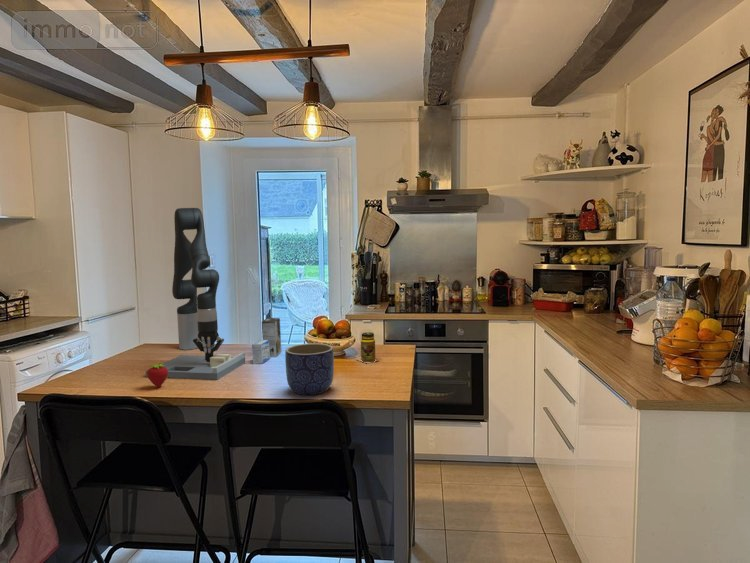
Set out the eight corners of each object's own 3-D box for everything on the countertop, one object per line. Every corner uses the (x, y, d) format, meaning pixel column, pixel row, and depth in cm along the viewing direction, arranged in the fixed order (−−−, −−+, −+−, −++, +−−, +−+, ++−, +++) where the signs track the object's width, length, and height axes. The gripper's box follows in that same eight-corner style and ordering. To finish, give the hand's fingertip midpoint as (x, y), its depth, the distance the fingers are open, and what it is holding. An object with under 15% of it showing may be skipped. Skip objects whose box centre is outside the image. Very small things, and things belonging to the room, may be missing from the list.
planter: (344, 389, 170) (343, 347, 168) (308, 401, 157) (306, 357, 156) (313, 380, 181) (311, 340, 179) (276, 391, 168) (275, 349, 167)
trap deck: (181, 360, 212) (180, 350, 211) (245, 362, 206) (244, 352, 206) (145, 377, 188) (145, 365, 188) (217, 379, 183) (216, 368, 182)
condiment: (365, 364, 201) (365, 335, 200) (354, 360, 208) (354, 332, 207) (380, 361, 205) (379, 333, 204) (369, 357, 212) (368, 330, 211)
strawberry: (153, 384, 179) (152, 357, 178) (172, 385, 177) (171, 358, 176) (143, 389, 173) (142, 362, 172) (163, 390, 172) (161, 362, 171)
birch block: (217, 362, 198) (217, 354, 198) (231, 362, 197) (231, 354, 197) (210, 366, 192) (209, 357, 192) (224, 367, 191) (223, 358, 191)
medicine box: (262, 364, 204) (261, 344, 203) (252, 364, 205) (251, 343, 204) (270, 359, 212) (269, 340, 211) (260, 359, 212) (259, 339, 212)
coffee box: (267, 352, 225) (266, 317, 223) (281, 352, 224) (280, 317, 223) (262, 357, 215) (261, 321, 214) (277, 357, 215) (275, 321, 214)
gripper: (227, 317, 197) (229, 359, 198) (197, 317, 199) (199, 358, 201) (218, 321, 189) (220, 364, 191) (187, 320, 192) (189, 363, 193)
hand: (209, 361), depth 196 cm, fingers closed
